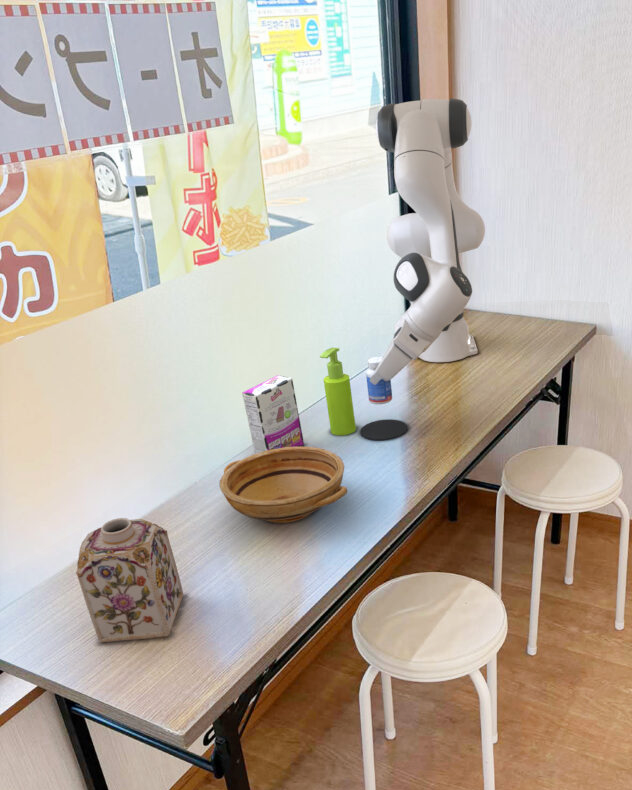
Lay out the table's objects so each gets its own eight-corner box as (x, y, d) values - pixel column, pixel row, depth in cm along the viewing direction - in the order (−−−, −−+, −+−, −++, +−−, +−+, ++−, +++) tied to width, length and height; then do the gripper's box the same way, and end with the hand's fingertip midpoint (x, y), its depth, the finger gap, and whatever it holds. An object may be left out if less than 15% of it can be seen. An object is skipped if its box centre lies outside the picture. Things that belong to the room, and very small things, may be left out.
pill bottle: (392, 404, 192) (387, 363, 187) (368, 406, 192) (363, 365, 188) (393, 395, 197) (388, 354, 192) (370, 396, 197) (365, 356, 192)
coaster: (365, 421, 204) (365, 419, 204) (410, 420, 202) (410, 419, 202) (356, 441, 194) (355, 439, 194) (403, 440, 192) (403, 438, 192)
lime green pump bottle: (323, 435, 199) (311, 353, 189) (339, 423, 204) (328, 343, 194) (345, 438, 196) (333, 356, 186) (360, 426, 201) (350, 345, 192)
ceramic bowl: (192, 519, 168) (183, 484, 165) (274, 468, 185) (268, 435, 182) (305, 556, 153) (298, 518, 149) (384, 497, 170) (380, 461, 166)
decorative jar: (186, 595, 145) (161, 503, 137) (171, 637, 135) (144, 541, 126) (116, 601, 145) (88, 510, 137) (96, 644, 135) (64, 548, 126)
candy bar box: (289, 440, 198) (277, 374, 190) (304, 445, 195) (293, 377, 187) (254, 460, 190) (240, 391, 182) (269, 464, 187) (256, 395, 180)
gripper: (410, 309, 194) (373, 351, 200) (395, 338, 176) (355, 383, 183) (431, 327, 195) (394, 369, 201) (418, 358, 177) (377, 402, 184)
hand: (375, 376), depth 192 cm, fingers closed on pill bottle, 5 cm apart
